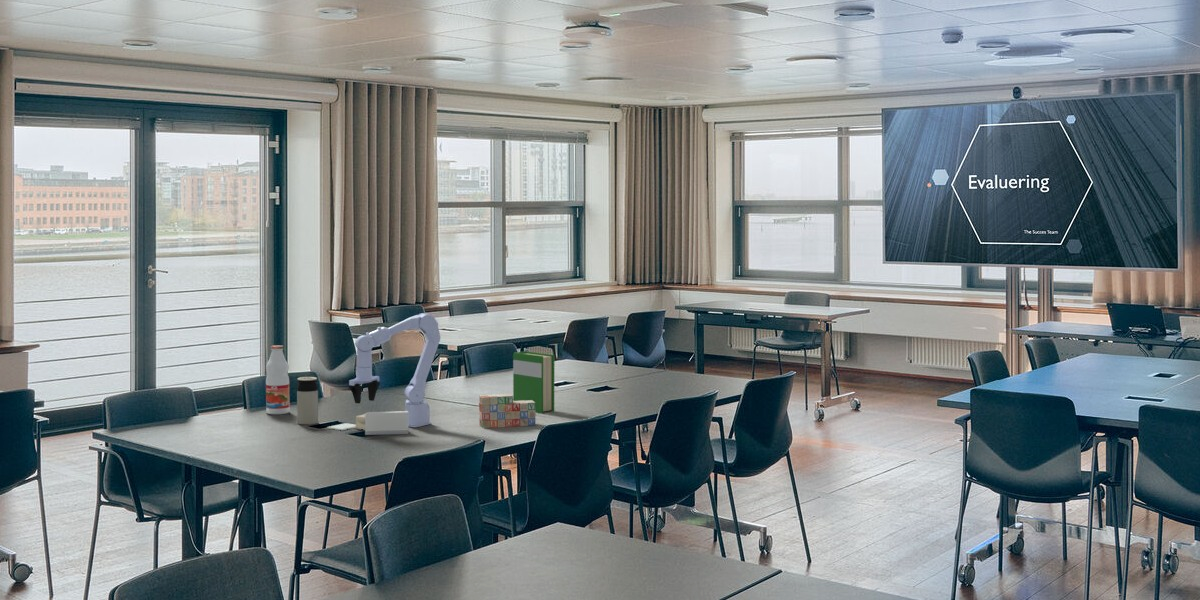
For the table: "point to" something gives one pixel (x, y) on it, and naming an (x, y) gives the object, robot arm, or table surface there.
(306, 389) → the travel mug
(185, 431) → the table surface
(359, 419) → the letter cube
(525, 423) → the stack of blocks
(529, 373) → the hardback book
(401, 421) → the divider screen
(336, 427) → the sage pad
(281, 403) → the fruit juice
